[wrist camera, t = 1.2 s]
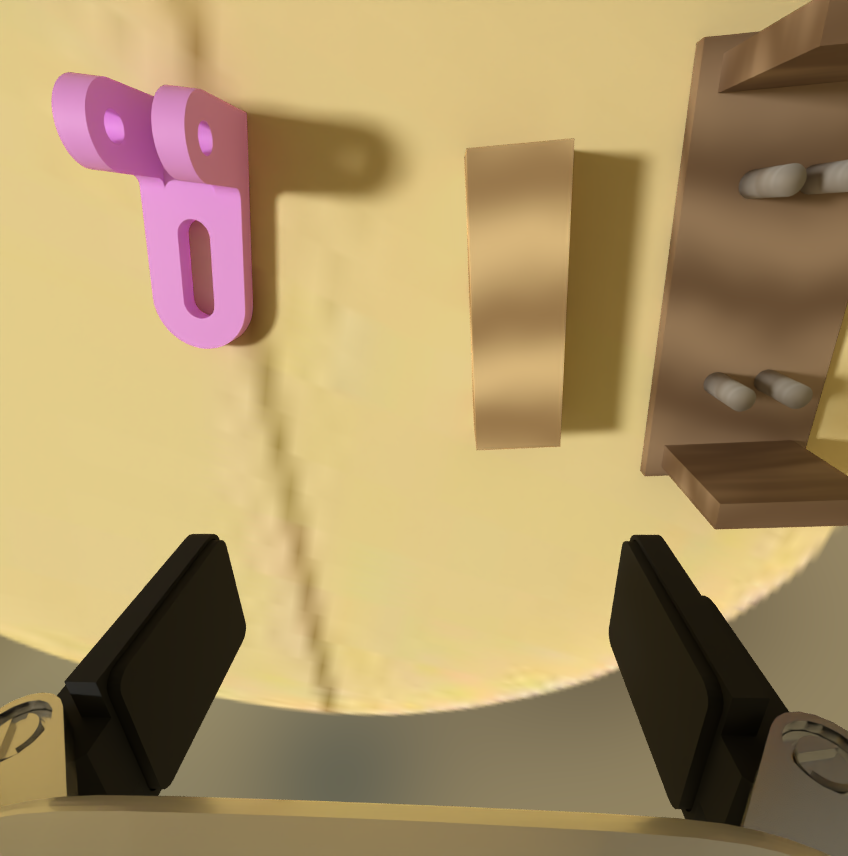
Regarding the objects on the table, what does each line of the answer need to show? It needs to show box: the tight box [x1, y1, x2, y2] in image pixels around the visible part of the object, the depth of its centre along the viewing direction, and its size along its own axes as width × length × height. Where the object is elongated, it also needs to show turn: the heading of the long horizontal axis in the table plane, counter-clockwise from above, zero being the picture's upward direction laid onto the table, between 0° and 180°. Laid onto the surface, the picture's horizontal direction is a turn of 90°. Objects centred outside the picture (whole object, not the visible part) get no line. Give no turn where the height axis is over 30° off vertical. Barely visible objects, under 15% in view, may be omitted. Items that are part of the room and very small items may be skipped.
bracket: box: [52, 72, 253, 349], centre depth 25 cm, size 13×6×7 cm, turn 173°
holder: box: [640, 0, 848, 529], centre depth 24 cm, size 24×10×8 cm, turn 4°
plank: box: [464, 138, 574, 450], centre depth 27 cm, size 16×5×4 cm, turn 4°
